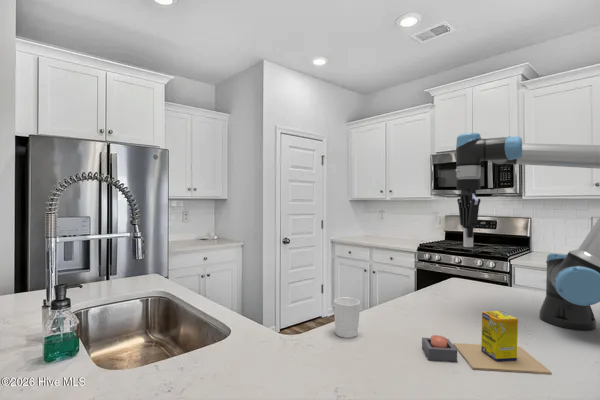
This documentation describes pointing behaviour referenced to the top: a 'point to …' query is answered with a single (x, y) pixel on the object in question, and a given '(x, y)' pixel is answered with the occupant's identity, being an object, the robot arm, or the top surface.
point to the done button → (438, 341)
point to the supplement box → (499, 336)
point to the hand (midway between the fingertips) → (468, 246)
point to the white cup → (346, 316)
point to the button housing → (439, 351)
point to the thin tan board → (485, 362)
